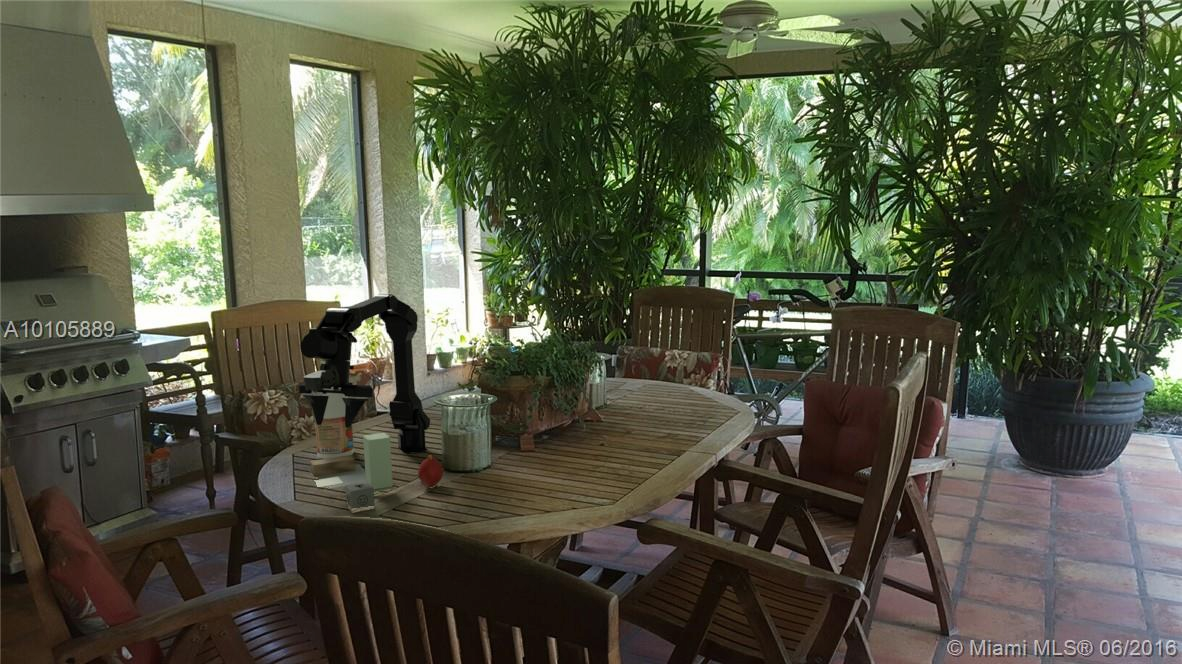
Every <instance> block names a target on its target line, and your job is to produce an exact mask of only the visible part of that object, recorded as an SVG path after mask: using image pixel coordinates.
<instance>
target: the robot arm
mask: <svg viewBox="0 0 1182 664" xmlns="http://www.w3.org/2000/svg"><path fill="white" fill-rule="evenodd" d="M417 313H418V312H417V311H415V310H414V309H413V308H412V307H411V306H410V305H409V304H407V303H405V302H403V301H401V300H400V299H398V297H396V295H394V294H389V293H388V294H384V293H382V294H381V293H379V294H376V295H375V296H373V297H371V298H368V299H365V300H363V301H360V302H358V303H355V304H352V305H349V306H337V307H329V308H327V309H326V311H325V313H324V315H323V317H322V318H321V320H320V322H319V323H318V325H317V326H316V327H315V328H309V329H308V333H307V334H306V335H305V336H303V338H302V340H301V342H300V345H299V346H300V352H301V353H302V355H303V356H304V357H305V358H308V359H315V360H316V359H317V360H318V359H319V360H320V359H327V360H325V364H321V363H320V364H321V365H319V370H317V371H313V372H311V373H309V374H306V375H303V381H302V382H301V383H300V384H299V387H298V388H299V389H298V390H299V391H298V393H299V394H302V397H303V398H305V399H306V400H307V401H308V402H309V403H310V406H311V409H312V411H313V416H314V421H315V420H316V423H317V425H321V424H322V421H323V418H324V414H325V410H326V406H327V402H328V398H329V396H323V394H327V393H338V394H344V395H345V396H348V398H342V399H343V401H344V403H345V405H346V408H345V427H346V428H349V427H350V426H351V424H352V425H353V422H354V421H355V419H356V417H357V415H358V414H359V412H360V410H362V409H361V408H362V407H363V406H364V404H366V402H368V401H369V398H373V395H374V389H373V387H372V386H371V385H365V384H354V383H353V382H350V373H351V372H350V371H353V370H354V367H355V365H352V364H351V361H352V360H351V359H352V347H353V346H352V345H353V344H352V343H358V339H357V338H356V337H355V336H354V334H353V332H355V331H356V330H358V329H359V328H360V327H361V326H362V325H363V322H364V321H366V320H368V319H371V318H374V317H376V316H378V317H379V319H380V320H381V321H383V322H384V326H385V332H386V333H387V335H388V337H389V338H390V339H391V341H392V347H393V351H392V352H393V362H394V363H393V364H394V365H393V366H394V380H395V381H394V382H395V396H394V397H393V399H392V400H391V401H389V416H390V420H391V423H392V426H393V430H399V434H397V446H398V449H399V450H400V451H402V453H403V454H405V453H409V454H413V453H412V452H415V453H419V451H421V452H427V451H428V450H429V449H428V447H426V430H428V429H429V428H430V426H431V425H430V424H431V419H430V417H429V416H428V415H427V413H426V412H425V410H424V409H423V403H422V400H421V399H420V397H419V396H418V394H417V393H416V388H415V372H414V357H413V356H414V354H413V338H414V336H415V334H416V333H417V330H418V320H419V316H418V314H417ZM331 387H333V389H331ZM339 388H341V389H339ZM336 390H340V391H336ZM426 450H427V451H426Z"/></svg>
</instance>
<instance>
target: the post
mask: <svg viewBox="0 0 1182 664" xmlns="http://www.w3.org/2000/svg"><path fill="white" fill-rule="evenodd" d="M362 438H363V440H362V441H363V442H362V443H363V454H364V455H363V456H364V470H365V475H366V482H369V483H370V484H371V485H372V486H373V487H374V492H376V491H382V490H387V489H393V490H394V485H393V483H394V482H393V467H392V466H393V465H392V448H391V437H390V435H388V434H387V433H385V432H380V433H374V434H373V433H371V434H365V435H363V436H362Z"/></svg>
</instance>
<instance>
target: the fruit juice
mask: <svg viewBox="0 0 1182 664" xmlns="http://www.w3.org/2000/svg"><path fill="white" fill-rule="evenodd" d="M325 360H327V359H319V363H320V364H325ZM331 389H333V387H331ZM339 389H341V388H339ZM336 391H340V390H336ZM323 396H329V398H328V402H327V406H326V410H325V414H324V418H323V421H322V424H321V425H317V423H316V420H315V419H314V424H315V441H316V454H317V455H316V456H317V458H319V459H328V458H334V457H341V456H347V455H352V456H353V455H354V453H355V452H354V447H355V446H354V436H353V435H354V434H353V432H354V431H353V423H352V424H351V426H350V427H349V428H346V427H345V408H346V405H345V403H344V401H343V399H342V398H348V396H345V395H344V394H338V393H327V394H323Z"/></svg>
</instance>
